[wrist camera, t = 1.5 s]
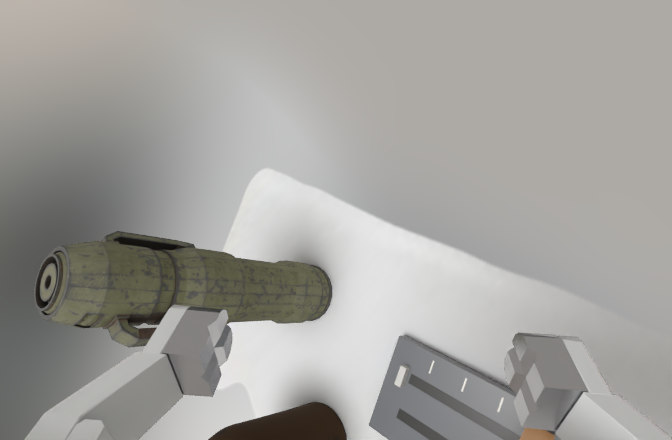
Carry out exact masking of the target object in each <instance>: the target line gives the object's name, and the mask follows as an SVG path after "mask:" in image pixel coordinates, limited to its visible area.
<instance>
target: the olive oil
mask: <svg viewBox="0 0 672 440" xmlns="http://www.w3.org/2000/svg"><path fill="white" fill-rule="evenodd" d="M208 440H346V435H345V431H344V428H343V425H342V423H341V421H340V419H339V417H338V416H337V415H336V413H335V412H334V411H333V410H332V409H331V408H330V407H328V406H327V405H325V404H322V403H317V402H314V403H309V404H305V405H302V406H299V407H296V408H293V409H289V410H286V411H282V412H279V413H275V414H271V415H268V416H264V417H261V418H257V419H253V420H249V421H246V422H242V423H238V424H234V425H231V426H228V427H226V428H224V429H222V430H220V431H219V432H217V433H216V434H215V435H213V436H212V437H211V438H210V439H208Z"/></svg>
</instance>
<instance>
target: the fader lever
mask: <svg viewBox="0 0 672 440" xmlns="http://www.w3.org/2000/svg"><path fill="white" fill-rule="evenodd" d="M554 437H555V435H553V434H552V433H550V432H548V431H546V430H541V429H533V428H525V429H524V431H523V433H522V435H521V437H520V439H519V440H554Z"/></svg>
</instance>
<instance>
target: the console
mask: <svg viewBox="0 0 672 440" xmlns="http://www.w3.org/2000/svg"><path fill="white" fill-rule="evenodd" d="M516 395H517V394H516V393H515V392H514V391H513V390H511V389H509V388H507V387H506V386H504V385H502V384H500V383H498V382H496V381H494V380H492V379H490V378H488V377H486V376H484V375H482V374H480V373H478V372H476V371H474V370H472V369H470V368H468V367H467V366H465V365H463V364H461V363H459V362H457V361H455V360H453V359H451V358H449V357H447V356H445V355H443V354H441V353H439V352H437V351H435V350H433V349H431V348H429V347H427V346H426V345H424V344H422V343H420V342H418V341H416V340H414V339H412V338H410V337H408V336H406V335H404V336H399V339H398V342H397V345H396V348H395V350H394V353H393V356H392V359H391V362H390V365H389V368H388V371H387V374H386V377H385V380H384V382H383V385H382V388H381V391H380V394H379V397H378V400H377V403H376V406H375V409H374V412H373V414H372V417H371V420H370V423H369V426H371V427H372V428H373V429H375V430H376V431H377V432H379V433H380V434H382V435H383V436H384V437H386V438H387V439H388V440H519V439H520V437H521V435H522V433H523V431H524V429H525V427H521V424H520V421H519V418H518V415H517V412H516V409H515V405H514V400H515V398H516ZM546 431H548V432H550V433H552V434H553V435H555V437H554V440H561V439H560V438H559V437H558V436H557V435H556V433H555V432H556V431H549V430H546Z"/></svg>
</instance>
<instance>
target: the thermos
mask: <svg viewBox="0 0 672 440" xmlns="http://www.w3.org/2000/svg"><path fill="white" fill-rule="evenodd" d="M331 298H332V287H331V283H330V279H329V278H328V276H327V274H326V273H325V272H324V271H323V270H322V269H321V268H319V267H316V266H312V265H307V264H304V263H299V262H292V261H279V262H276V263H271V262H263V261H256V260H248V259H241V258H235V257H234V256H232V255H230V254H228V253H225V252H217V251H211V250H204V249H197V248H195V246H194V244H190V243H186V242H182V241H177V240H171V239H164V238H158V237H152V236H146V235H139V234H132V233H126V232H120V231H117V232H115V233H112V234H110V235H107V236H105V237H104V239H103V240H102V241H101V242H100V241H93V242H84V243H78V244H71V245H65V246H59V247H56V248H55V249H54V250H52V251H51V253H50V254H49V255H48V256H47V257H46V258H45V259H44V261H43V262H42V264H41V266H40V269H39V271H38V274H37V278H36V283H35V290H34V299H35V305H36V307H37V309H38V311H39V314H40V316H41V317H42V318H43V319H44V320H48V321H52V322H56V323H60V324H64V325H67V326H72V327H77V328H96V327H103V329H108V330H109V333H110V336H111V338H112V340H115V341H116V342H119V343H121V344H123V345H125V346H127V347H136V346H146V344H147V343H148V341H149V340H150V338H151V337H152V335H153V333H154V332H155V330H156V329H157V328H142V329H138V328H136V327H133V326H137V325H141V324H142V323H146V324H148V325H159V324H160V322H161V321H162V319H163V317H164V316H165V314H166V313H167V311H168V310H169V308H171V307H172V306H173V305H184V306H195V307H205V308H214V309H223V310H226V311H227V314H228V320H227V323H226V324H228V323H229V322H245V321H265V320H272V321H274V322H276V323H300V322H304V321H313V320H316V319H318V318H320V317H321V316H322V315H323V314H324V313H325V312H326V311H327V309H328V307H329V305H330V302H331Z"/></svg>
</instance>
